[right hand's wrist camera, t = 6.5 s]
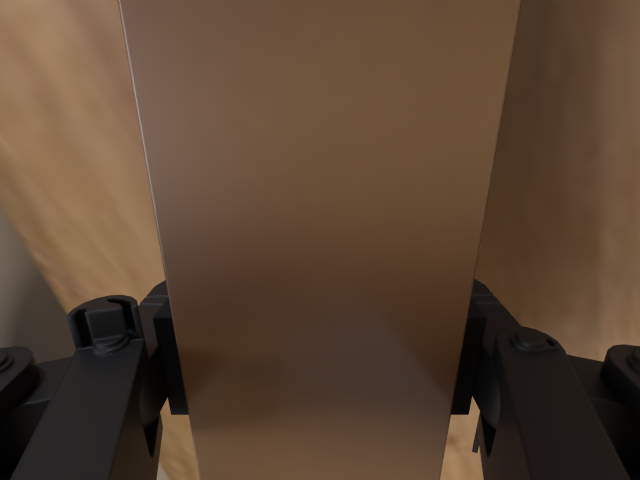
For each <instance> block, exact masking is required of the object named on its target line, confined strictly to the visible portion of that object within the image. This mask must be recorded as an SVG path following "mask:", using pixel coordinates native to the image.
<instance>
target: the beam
mask: <svg viewBox="0 0 640 480" xmlns="http://www.w3.org/2000/svg"><path fill="white" fill-rule="evenodd" d="M521 1H522V0H118V4H119V10H120V16H121V22H122V28H123V34H124V40H125V45H126V51H127V57H128V63H129V69H130V75H131V80H132V86H133V92H134V98H135V104H136V110H137V115H138V121H139V127H140V133H141V139H142V145H143V150H144V156H145V162H146V168H147V174H148V180H149V185H150V191H151V197H152V203H153V209H154V215H155V220H156V226H157V232H158V238H159V244H160V250H161V255H162V261H163V267H164V273H165V279H166V285H167V291H168V296H169V302H170V308H171V314H172V320H173V326H174V331H175V337H176V343H177V349H178V355H179V361H180V366H181V372H182V378H183V384H184V390H185V396H186V401H187V407H188V413H189V419H190V425H191V431H192V436H193V442H194V448H195V454H196V460H197V466H198V471H199V477H200V480H440V475H441V469H442V464H443V458H444V452H445V446H446V440H447V434H448V429H449V423H450V417H451V411H452V405H453V399H454V393H455V388H456V382H457V376H458V370H459V364H460V358H461V352H462V347H463V341H464V335H465V329H466V323H467V317H468V311H469V306H470V300H471V294H472V288H473V282H474V276H475V270H476V265H477V259H478V253H479V247H480V241H481V235H482V229H483V224H484V218H485V212H486V206H487V200H488V194H489V188H490V183H491V177H492V171H493V165H494V159H495V153H496V147H497V142H498V136H499V130H500V124H501V118H502V112H503V107H504V101H505V95H506V89H507V83H508V77H509V71H510V66H511V60H512V54H513V48H514V42H515V36H516V30H517V25H518V19H519V13H520V7H521Z"/></svg>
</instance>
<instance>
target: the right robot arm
mask: <svg viewBox="0 0 640 480" xmlns="http://www.w3.org/2000/svg"><path fill="white" fill-rule="evenodd" d="M67 320H68V323H69V326H70V330H71V333H72V337H73V340H74V343H75V347H76V351H75V353H74V355H73V356H72V357H68V358H63V359H58V360H52V361H47V362H42V363H36V360H35V357H34V354H33V352H32V351H31V350H30V349H28V348H27V347H18V346H14V347H6V348H0V480H156V478H157V471H158V463H159V455H160V447H161V439H162V431H163V425H162V419H161V414H160V411H161V409H162V407H163V405H164V403H165V401H166V399H167V397H168V400H169V406H170V411H171V415H189V413H188V407H187V401H186V396H185V390H184V384H183V378H182V372H181V366H180V361H179V355H178V349H177V343H176V337H175V331H174V326H173V320H172V314H171V308H170V302H169V296H168V291H167V285H166V280H165V281H163V282H162V283H160V284H158V285H156V286H155V287H154V288H153V289H152V290H151V292H150V293H149V294H148V295H147V298H144V300H143V301H142V302H141V303H140V306H138V304H137V300H135V299H134V298H132V297H130V296H125V295H111V296H105V297H101V298H96V299H93V300H91V301H88V302H85V303H83V304H81V305H80V306H78V307H76V308H74V309H73V310H72V311H71V312H70V313H69V314H68V315H67ZM472 396H473V398H474V400H475V402H476V404H477V406H478V408H479V409H480V414H479V419H478V424H477V429H476V434H475V438H474V443H473V450H472V452H475V453H477V452H478V447H479V446H480V454H481V462H482V470H483V477H484V480H640V346H632V345H615V346H612V347H611V348H609V349H608V351H607V354H606V356H605V359H604V362H601V361H596V360H591V359H586V358H581V357H576V356H571V355H567V354H566V352H565V350H564V349H563V347H562V346H561V345H560V344H559V343H558V341H556V340H555V339H553V338H552V337H550V336H549V335H547V334H545V333H543V332H540V331H538V330H536V329H532V328H527V327H523V326H521V325H520V324H519V323H518V322H517V321H516V320H515V319H514V317H513V316H512V315H511V314H510V313H509V312H508V311H507V310H506V308H505V307H504V306H503V305H502V304H500V302H499V300H498V299H497V298H496V297H495V296H493V294H492V293H491V291H490V290H489V289H488V288H487V287H486V286H485V285H484V284H482V283H481V282H479V281H477V280H475V279H474V282H473V288H472V294H471V300H470V306H469V311H468V317H467V323H466V329H465V335H464V341H463V347H462V352H461V358H460V364H459V370H458V376H457V382H456V388H455V393H454V399H453V405H452V411H451V415H469V409H470V404H471V399H472Z"/></svg>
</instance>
